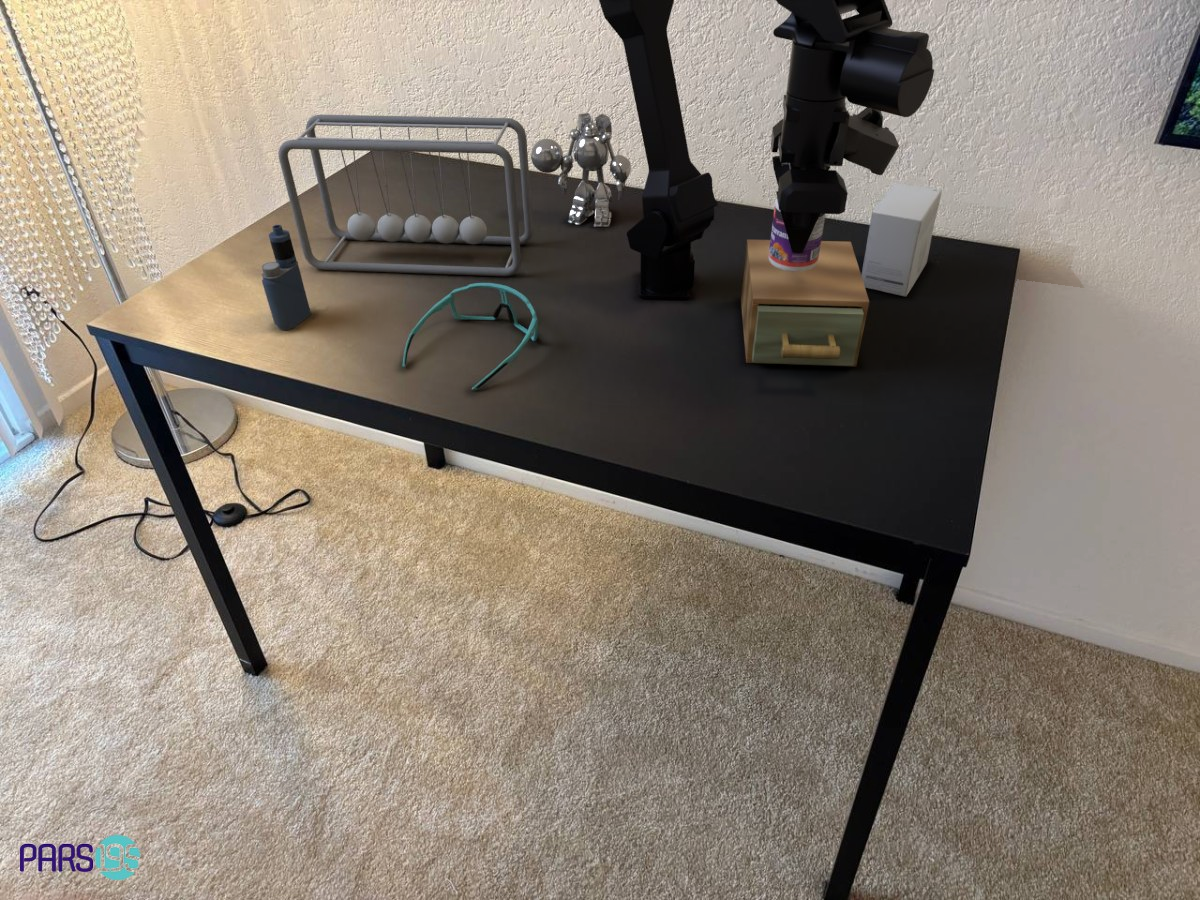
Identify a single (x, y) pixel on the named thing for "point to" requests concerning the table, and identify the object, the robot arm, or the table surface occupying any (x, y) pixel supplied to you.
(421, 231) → the newton's cradle
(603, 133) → the robot toy
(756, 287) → the cabinet
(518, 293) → the sunglasses
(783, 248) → the pill bottle
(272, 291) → the vaping device
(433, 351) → the table surface
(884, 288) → the cosmetics box
